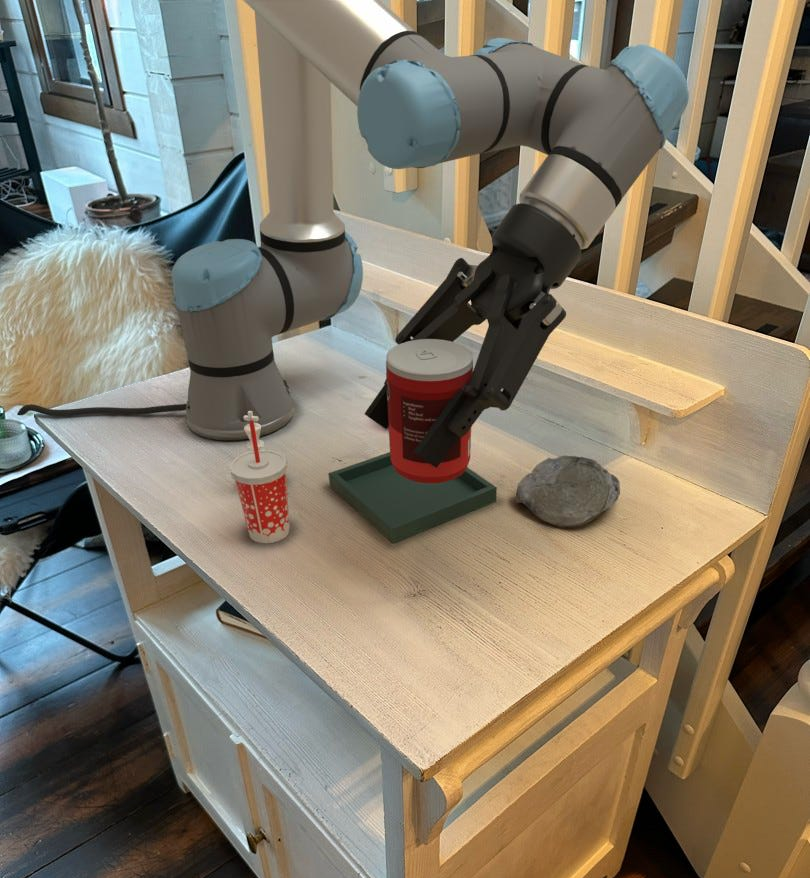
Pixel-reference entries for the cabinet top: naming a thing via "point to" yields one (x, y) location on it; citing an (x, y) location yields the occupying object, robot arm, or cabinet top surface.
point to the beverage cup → (262, 492)
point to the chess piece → (257, 430)
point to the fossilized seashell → (568, 491)
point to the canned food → (425, 404)
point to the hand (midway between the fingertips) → (399, 439)
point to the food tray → (407, 497)
